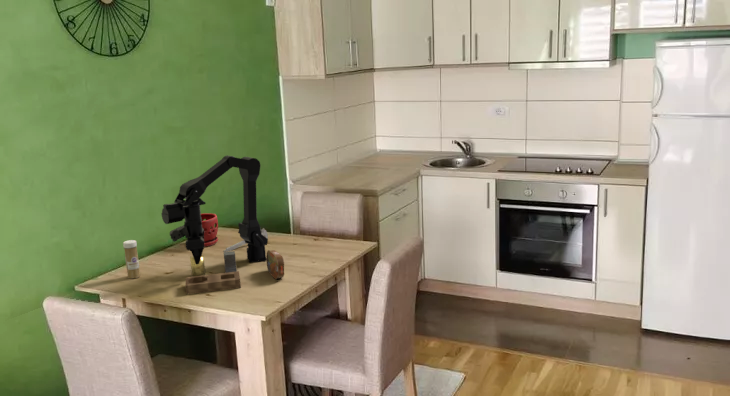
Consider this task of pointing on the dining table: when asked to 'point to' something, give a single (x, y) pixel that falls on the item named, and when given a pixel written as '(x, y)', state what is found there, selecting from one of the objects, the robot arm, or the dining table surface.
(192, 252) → the robot arm
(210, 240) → the plant pot
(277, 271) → the tin
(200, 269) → the round bit
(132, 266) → the sprinkles bottle
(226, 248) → the caliper
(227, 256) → the square bit
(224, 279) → the bore block
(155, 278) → the dining table surface
